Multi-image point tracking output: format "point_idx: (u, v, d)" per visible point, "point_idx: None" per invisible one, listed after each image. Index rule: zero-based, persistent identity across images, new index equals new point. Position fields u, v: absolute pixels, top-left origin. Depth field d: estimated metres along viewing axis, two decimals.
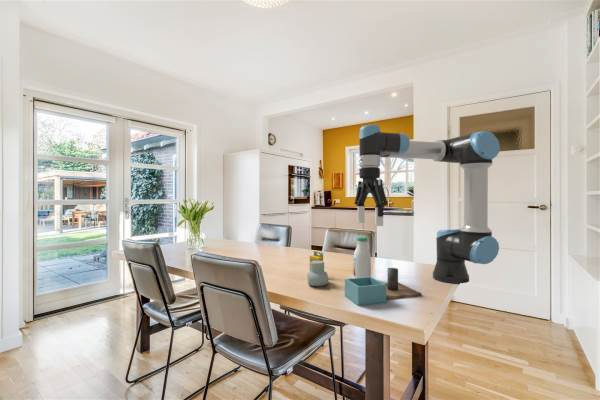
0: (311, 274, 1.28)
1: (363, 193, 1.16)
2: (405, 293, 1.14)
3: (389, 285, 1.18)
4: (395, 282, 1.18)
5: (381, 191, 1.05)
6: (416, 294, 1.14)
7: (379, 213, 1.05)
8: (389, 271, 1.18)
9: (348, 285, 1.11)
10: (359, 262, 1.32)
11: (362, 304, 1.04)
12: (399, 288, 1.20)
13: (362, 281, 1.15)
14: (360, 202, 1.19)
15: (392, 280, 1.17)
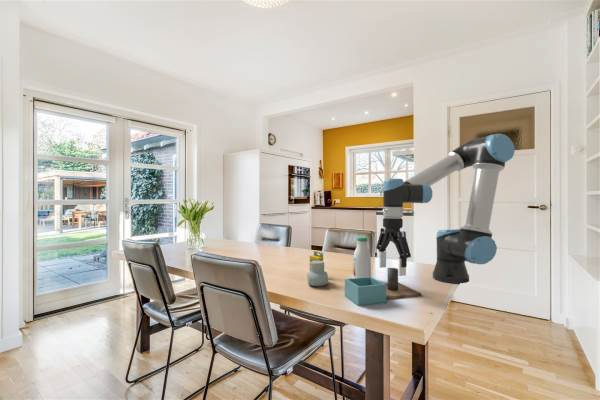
0: (311, 274, 1.28)
1: (386, 240, 1.22)
2: (405, 293, 1.14)
3: (389, 285, 1.18)
4: (395, 282, 1.18)
5: (404, 243, 1.12)
6: (416, 294, 1.14)
7: (402, 264, 1.11)
8: (389, 271, 1.18)
9: (348, 285, 1.11)
10: (359, 262, 1.32)
11: (362, 304, 1.04)
12: (399, 288, 1.20)
13: (362, 281, 1.15)
14: (382, 248, 1.25)
15: (392, 280, 1.17)
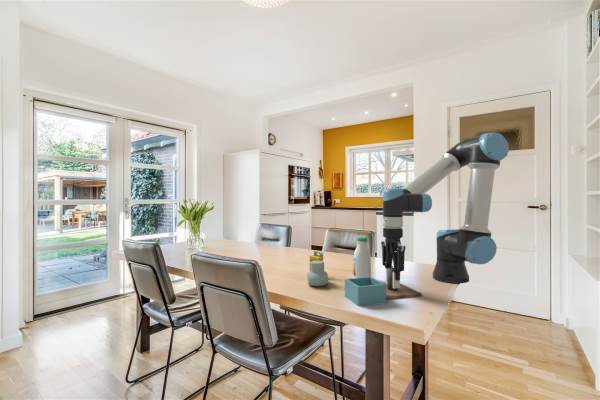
0: (311, 274, 1.28)
1: (388, 252, 1.20)
2: (405, 293, 1.14)
3: (389, 285, 1.18)
4: None
5: (401, 257, 1.14)
6: (416, 294, 1.14)
7: (396, 277, 1.16)
8: (389, 271, 1.18)
9: (348, 285, 1.11)
10: (359, 262, 1.32)
11: (362, 304, 1.04)
12: (399, 288, 1.20)
13: (362, 281, 1.15)
14: (388, 263, 1.21)
15: (392, 280, 1.17)
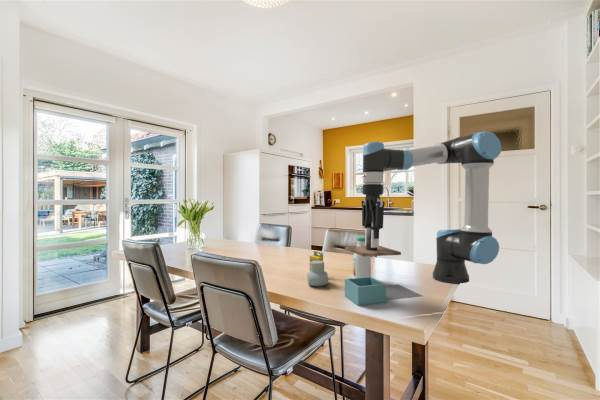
0: (311, 274, 1.28)
1: (368, 211, 1.14)
2: (383, 252, 1.07)
3: (368, 245, 1.12)
4: None
5: (380, 214, 1.07)
6: (395, 253, 1.07)
7: (375, 235, 1.09)
8: (368, 230, 1.12)
9: (348, 285, 1.11)
10: (359, 262, 1.32)
11: (362, 304, 1.04)
12: (378, 249, 1.14)
13: (362, 281, 1.15)
14: (367, 222, 1.15)
15: None
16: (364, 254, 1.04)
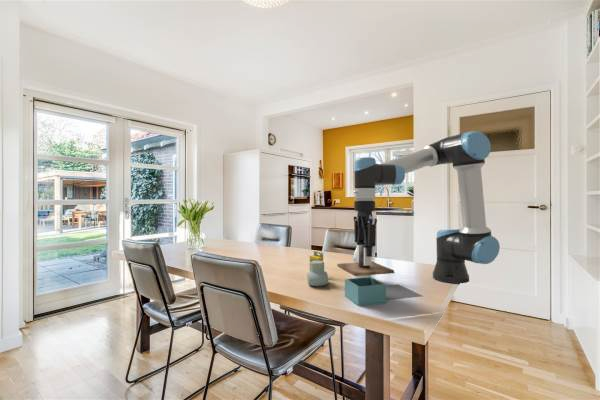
0: (311, 274, 1.28)
1: (360, 227, 1.11)
2: (376, 270, 1.05)
3: (360, 262, 1.09)
4: None
5: (372, 231, 1.05)
6: (388, 271, 1.05)
7: (367, 253, 1.07)
8: (360, 247, 1.09)
9: (348, 285, 1.11)
10: None
11: (362, 304, 1.04)
12: (371, 266, 1.11)
13: (362, 281, 1.15)
14: (360, 239, 1.12)
15: None
16: (356, 274, 1.01)
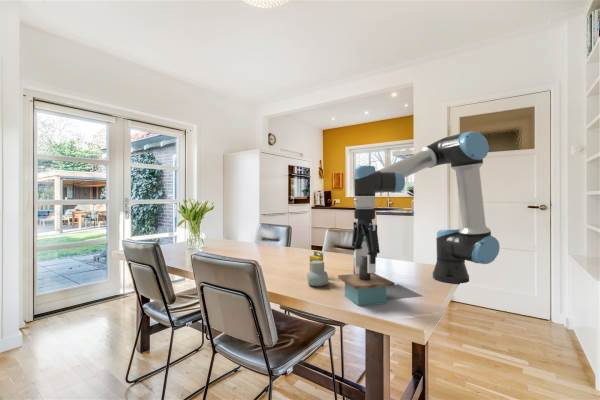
0: (311, 274, 1.28)
1: (359, 234, 1.12)
2: (377, 283, 1.05)
3: (360, 274, 1.09)
4: (367, 271, 1.09)
5: (374, 238, 1.03)
6: (389, 284, 1.05)
7: (371, 260, 1.04)
8: (360, 259, 1.09)
9: (348, 285, 1.11)
10: None
11: (362, 304, 1.04)
12: (372, 278, 1.11)
13: None
14: (357, 244, 1.15)
15: (364, 269, 1.09)
16: (357, 287, 1.01)
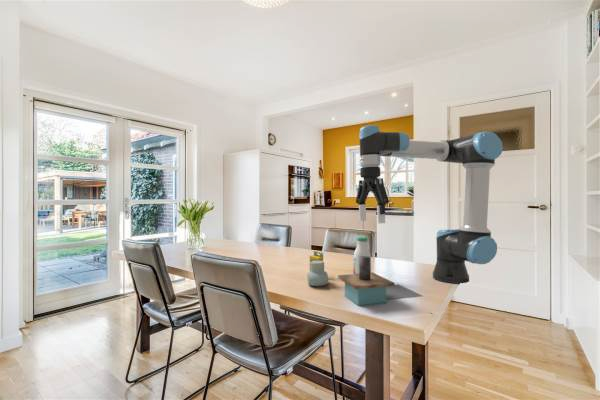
0: (311, 274, 1.28)
1: (364, 192, 1.19)
2: (377, 283, 1.05)
3: (360, 274, 1.09)
4: (367, 271, 1.09)
5: (382, 189, 1.09)
6: (389, 284, 1.05)
7: (381, 211, 1.08)
8: (360, 259, 1.09)
9: (348, 285, 1.11)
10: None
11: (362, 304, 1.04)
12: (372, 278, 1.11)
13: None
14: (361, 200, 1.22)
15: (364, 269, 1.09)
16: (357, 287, 1.01)
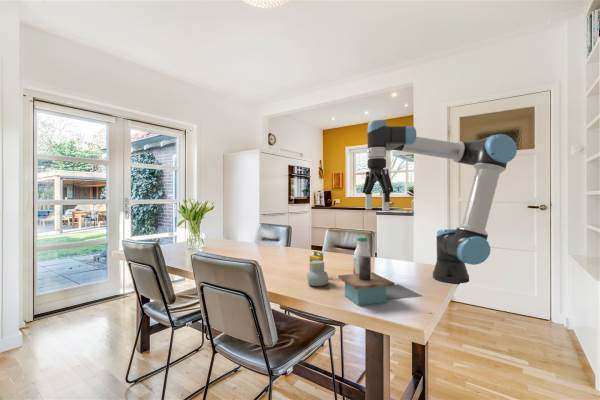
0: (311, 274, 1.28)
1: (371, 182, 1.28)
2: (377, 283, 1.05)
3: (360, 274, 1.09)
4: (367, 271, 1.09)
5: (387, 179, 1.17)
6: (389, 284, 1.05)
7: (386, 199, 1.17)
8: (360, 259, 1.09)
9: (348, 285, 1.11)
10: None
11: (362, 304, 1.04)
12: (372, 278, 1.11)
13: None
14: (368, 190, 1.31)
15: (364, 269, 1.09)
16: (357, 287, 1.01)
